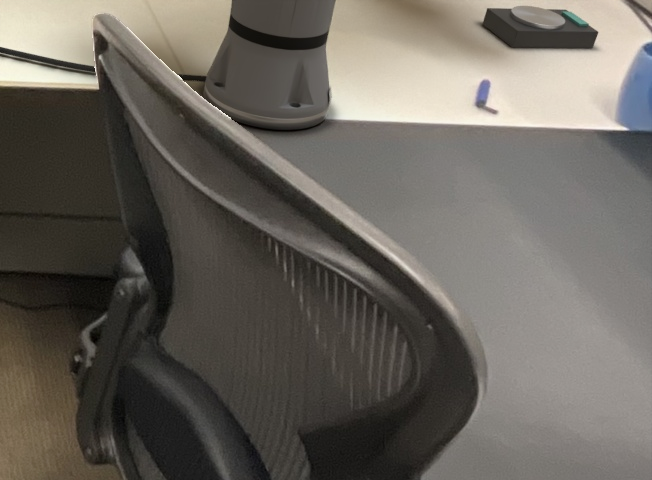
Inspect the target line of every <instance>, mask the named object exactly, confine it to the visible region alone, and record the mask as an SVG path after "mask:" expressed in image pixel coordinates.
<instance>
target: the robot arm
mask: <svg viewBox="0 0 652 480" xmlns="http://www.w3.org/2000/svg"><path fill="white" fill-rule="evenodd" d="M230 5H231V6H230V14H229V18H228V19H229V20H228V26H227V29H226V30H227V31H226V34H225V36H224V37H223V40H222V42H221V44H220V46H219V48H218V50H217V53H216V55H215V56H214V58H213V60H212V63H211V65H210V66H209V69H208V71H207V73H206V75H200V74H199V75H198V74H184V73H183V74H181V73H177V74H178V75H179V76H180V77H181V78H182V79H183V80H182V81H185V82H186V81H187V82H198V83H199V82H200V83H204V86H203V99H204V98H205V99H206V100H207V101H208V102H209V103H211V104H212V105H213V106H215V107H217V108H218V109H219V110H221V111H222V112H223V113H225V114H226V115H228V116H229V117H231V118H232V119H233V120H232V119H231V120H232V121H234V122H237V123H240V124H244V125H248V126H251V127H257V128H261V129H269V130H279V131H280V130H281V131H291V130H303V129H308V128H311V127H314V126H316V125H319V124H320V123H323V121H324V120H325V119H326V118H327V116H328V113H329V108H330V105H331V104H332V98H333V91H332V85H330V77H329V68H328V65H329V64H328V57H327V43H328V39H329V32H330V28H331V24H332V19H333V15H334V11H335V10H334V9H335V5H336V0H231V4H230ZM0 54H4V55H7V56H12V57H17V58H20V59H25V60H30V61H34V62H38V63H43V64H48V65H52V66H57V67H62V68H68V69H71V70H79V71H83V72H89V73H95V68H94V66H95V65H89V64H83V63H76V62H71V61H67V60H61V59H57V58H52V57H47V56H42V55H38V54H33V53H29V52H25V51H20V50H15V49H11V48H7V47H3V46H0ZM205 99H204V100H205Z"/></svg>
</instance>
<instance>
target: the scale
mask: <svg viewBox="0 0 652 480" xmlns="http://www.w3.org/2000/svg"><path fill="white" fill-rule="evenodd" d="M482 26H484V27H485V28H486V29H488V30H489V31H490V32H491V33H493V34H494V35H495V36H497V37H498V38H499V39H501V40H502V41H503V42H504V43H506V44H507V45H508V46H510V48H513V49H515V48H517V49H519V48H520V49H521V48H523V49H529V48H530V49H546V48H547V49H548V48H549V49H593V48H594V46H595V44H596V40H597V37H598V35H599V31H598V29H595V28H594V27H592V26H591V25H589V23H588V22H587V21H586V20H584V19H582V17H580V16H578V15H577V14H575V13H574V12H573V11H569V10H568V9H558V8H557V9H556V8H555V9H553V8H552V9H551V8H550V9H549V8H542V7H539V6H532V5H516V6H514V7H512V8H507V7H506V8H505V7H503V8H502V7H501V8H498V7H487V8H486V11H485V14H484V18H483V21H482Z"/></svg>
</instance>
